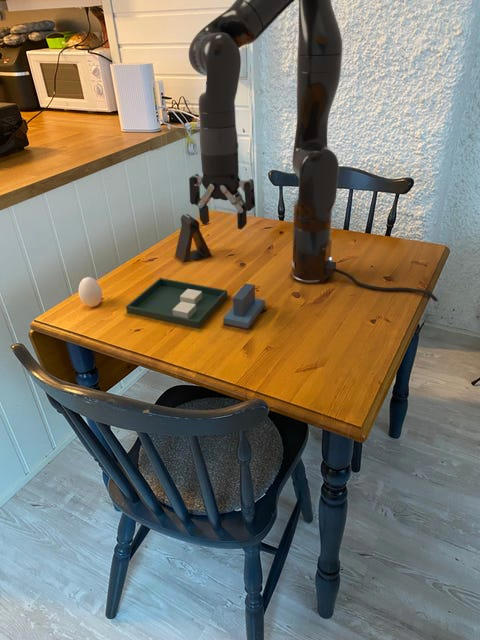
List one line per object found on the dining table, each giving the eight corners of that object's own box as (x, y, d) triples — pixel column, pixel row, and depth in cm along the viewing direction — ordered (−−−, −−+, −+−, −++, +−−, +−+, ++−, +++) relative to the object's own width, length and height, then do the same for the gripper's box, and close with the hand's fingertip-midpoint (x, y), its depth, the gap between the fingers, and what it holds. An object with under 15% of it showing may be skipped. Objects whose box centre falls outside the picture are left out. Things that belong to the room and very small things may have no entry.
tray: (227, 298, 116) (227, 290, 114) (199, 330, 104) (198, 322, 103) (161, 285, 122) (160, 277, 121) (127, 314, 111) (125, 306, 109)
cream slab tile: (196, 310, 110) (195, 304, 109) (188, 319, 107) (187, 312, 106) (181, 307, 112) (181, 301, 111) (173, 316, 108) (172, 309, 108)
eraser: (265, 308, 111) (265, 282, 107) (248, 332, 103) (247, 305, 99) (241, 304, 113) (241, 278, 109) (223, 326, 105) (221, 300, 101)
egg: (93, 313, 112) (86, 285, 108) (77, 307, 114) (70, 280, 110) (109, 303, 116) (103, 275, 111) (93, 298, 118) (87, 270, 114)
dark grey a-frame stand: (183, 264, 132) (178, 224, 126) (175, 256, 137) (170, 217, 130) (211, 256, 136) (208, 217, 129) (202, 249, 140) (199, 210, 134)
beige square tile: (202, 297, 115) (202, 291, 114) (194, 305, 112) (194, 299, 111) (188, 294, 117) (187, 288, 116) (180, 302, 114) (179, 296, 113)
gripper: (178, 151, 93) (186, 228, 102) (244, 155, 88) (247, 236, 97) (196, 142, 99) (202, 216, 108) (259, 146, 94) (259, 223, 103)
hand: (223, 225), depth 102 cm, fingers open, 8 cm apart
